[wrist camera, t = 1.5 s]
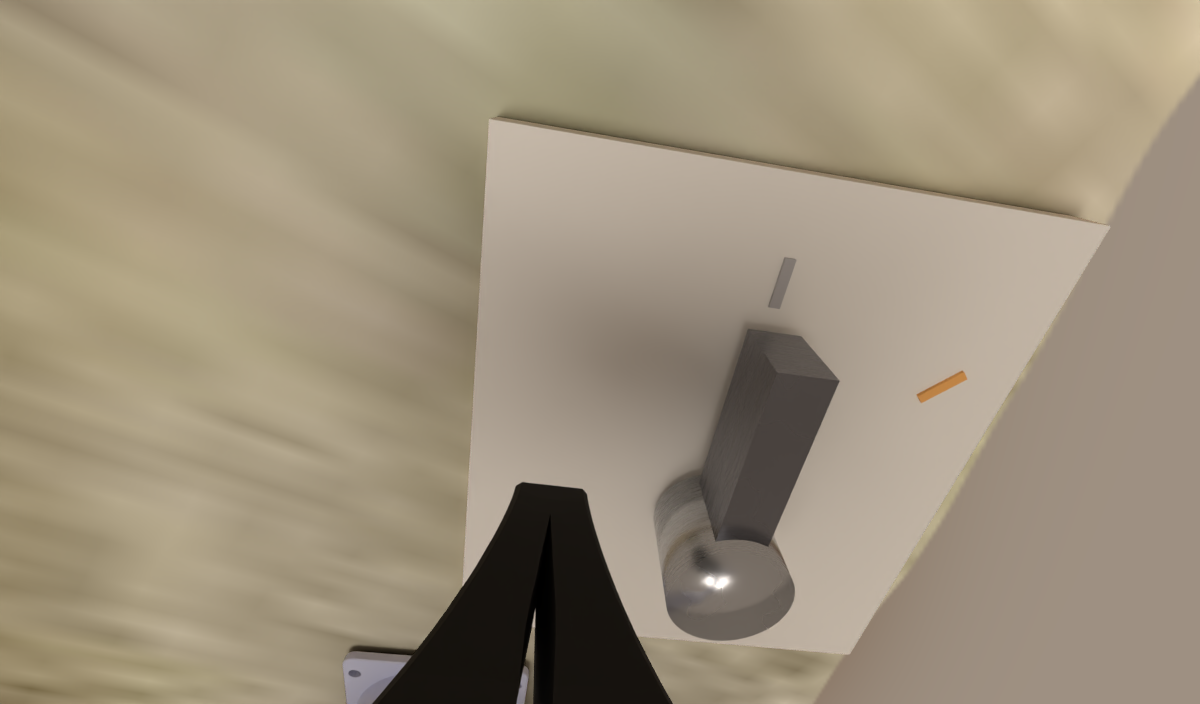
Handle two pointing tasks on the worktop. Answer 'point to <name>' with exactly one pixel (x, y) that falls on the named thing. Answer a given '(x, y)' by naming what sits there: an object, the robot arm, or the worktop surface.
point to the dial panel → (715, 338)
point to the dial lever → (743, 494)
